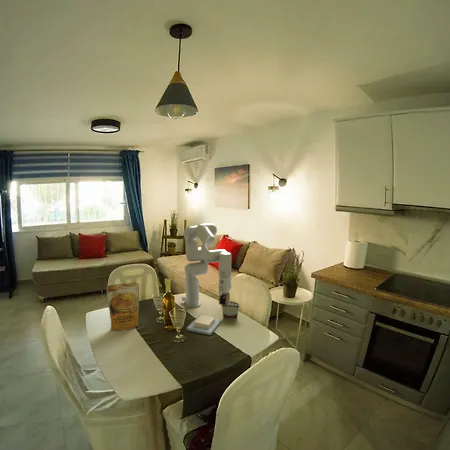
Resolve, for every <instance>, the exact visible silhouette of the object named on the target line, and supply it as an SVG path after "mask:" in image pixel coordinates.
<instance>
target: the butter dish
mask: <svg viewBox="0 0 450 450" xmlns="http://www.w3.org/2000/svg"><path fill="white" fill-rule="evenodd" d="M222 320H223V319H221V318H215V317H214V316H213V317H212V316H206V315H203V314H202V315H201V314H200V315H198V316H197V317H196V318H195V319H194V320H193V321H192V322H191V323H190V324H189V325H188V326H187V327H186V331H189V332H194V333H199V334H204V335H206V336H207V335H208V336H211V335H212V334H213V333H214V331H216V330H217V328H218V327H219V325H221V324H222Z"/></svg>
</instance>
